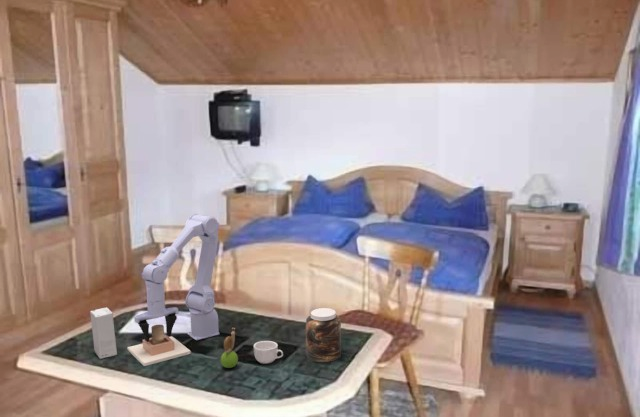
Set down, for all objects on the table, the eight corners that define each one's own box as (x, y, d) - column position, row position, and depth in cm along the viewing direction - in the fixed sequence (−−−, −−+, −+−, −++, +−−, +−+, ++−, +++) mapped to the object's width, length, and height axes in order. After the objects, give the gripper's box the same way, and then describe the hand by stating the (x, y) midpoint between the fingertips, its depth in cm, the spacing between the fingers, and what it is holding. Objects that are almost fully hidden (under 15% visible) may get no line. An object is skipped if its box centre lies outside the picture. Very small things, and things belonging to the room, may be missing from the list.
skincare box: (117, 355, 194) (114, 313, 191) (98, 359, 191) (95, 316, 188) (111, 347, 201) (108, 306, 198) (92, 351, 197) (89, 309, 195)
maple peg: (165, 346, 199) (164, 324, 197) (164, 351, 195) (163, 328, 193) (153, 347, 198) (152, 324, 196) (152, 351, 194) (150, 329, 193)
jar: (307, 347, 199) (307, 306, 197) (341, 348, 198) (341, 306, 196) (304, 362, 188) (304, 318, 185) (340, 363, 187) (340, 318, 184)
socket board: (172, 338, 207) (171, 328, 207) (190, 353, 195) (190, 342, 194) (127, 349, 198) (126, 338, 197) (144, 366, 185) (143, 354, 185)
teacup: (249, 364, 187) (249, 348, 186) (260, 354, 194) (259, 339, 193) (278, 368, 183) (277, 352, 182) (287, 358, 191) (287, 343, 190)
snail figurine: (242, 363, 187) (241, 328, 185) (233, 372, 181) (232, 335, 179) (227, 361, 189) (226, 326, 187) (217, 369, 183) (216, 333, 181)
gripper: (171, 292, 201) (173, 329, 203) (130, 300, 192) (132, 339, 195) (180, 297, 195) (181, 335, 197) (137, 306, 187) (140, 346, 189)
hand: (158, 338), depth 196 cm, fingers open, 7 cm apart
